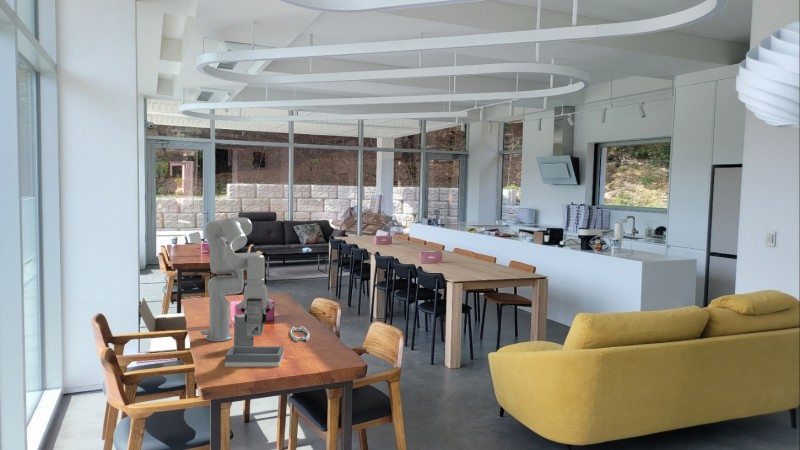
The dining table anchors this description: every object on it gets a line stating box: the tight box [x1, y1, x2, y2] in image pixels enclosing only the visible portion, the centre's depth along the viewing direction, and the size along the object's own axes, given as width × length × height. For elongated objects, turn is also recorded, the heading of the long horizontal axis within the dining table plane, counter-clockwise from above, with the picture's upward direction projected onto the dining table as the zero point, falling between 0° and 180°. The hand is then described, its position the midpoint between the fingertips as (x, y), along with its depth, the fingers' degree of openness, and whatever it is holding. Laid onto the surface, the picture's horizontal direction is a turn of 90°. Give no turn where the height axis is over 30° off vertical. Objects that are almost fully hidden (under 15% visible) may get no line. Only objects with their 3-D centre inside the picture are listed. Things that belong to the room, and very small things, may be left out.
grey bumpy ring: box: [289, 325, 311, 343], centre depth 294 cm, size 3×10×25 cm
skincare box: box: [233, 313, 255, 346], centre depth 269 cm, size 8×7×16 cm
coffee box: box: [247, 299, 265, 337], centre depth 249 cm, size 9×6×16 cm
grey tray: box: [224, 345, 284, 368], centre depth 250 cm, size 23×16×4 cm
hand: (255, 322), depth 249 cm, fingers closed on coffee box, 6 cm apart
